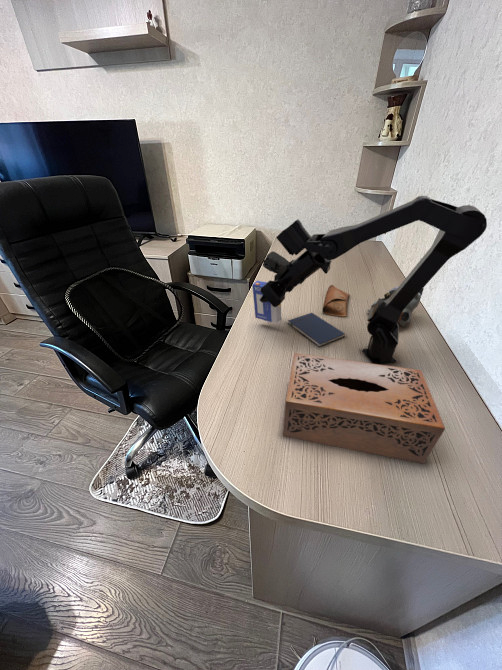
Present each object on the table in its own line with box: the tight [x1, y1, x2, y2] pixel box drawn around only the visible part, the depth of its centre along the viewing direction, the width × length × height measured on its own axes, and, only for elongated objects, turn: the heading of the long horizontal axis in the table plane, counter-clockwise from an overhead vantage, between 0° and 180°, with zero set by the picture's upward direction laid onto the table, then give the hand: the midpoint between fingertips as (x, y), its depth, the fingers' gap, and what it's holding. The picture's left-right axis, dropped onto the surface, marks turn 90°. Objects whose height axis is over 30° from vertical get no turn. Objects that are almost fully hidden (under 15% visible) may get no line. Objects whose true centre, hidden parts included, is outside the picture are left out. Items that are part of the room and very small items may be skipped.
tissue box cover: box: [282, 352, 446, 465], centre depth 56 cm, size 26×14×10 cm, turn 77°
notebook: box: [287, 312, 346, 348], centre depth 87 cm, size 15×10×1 cm
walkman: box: [251, 280, 282, 324], centre depth 82 cm, size 8×3×12 cm, turn 57°
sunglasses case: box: [322, 284, 350, 318], centre depth 100 cm, size 18×7×7 cm
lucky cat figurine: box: [366, 286, 425, 328], centre depth 89 cm, size 15×12×14 cm
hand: (262, 298), depth 82 cm, fingers closed on walkman, 3 cm apart
